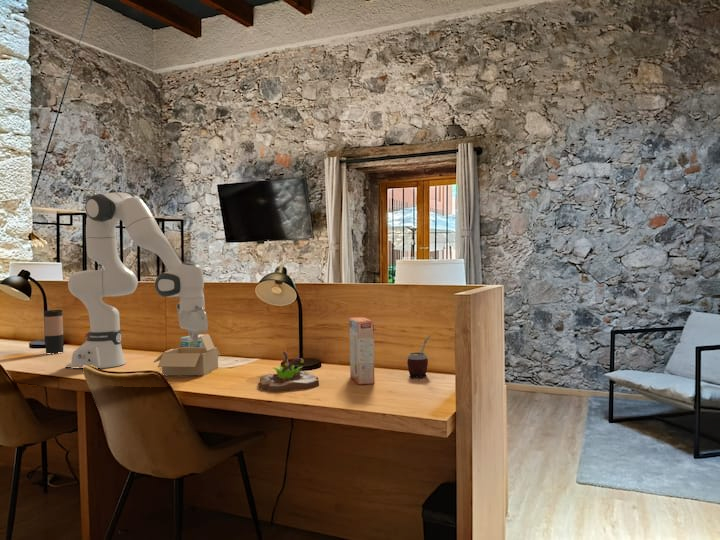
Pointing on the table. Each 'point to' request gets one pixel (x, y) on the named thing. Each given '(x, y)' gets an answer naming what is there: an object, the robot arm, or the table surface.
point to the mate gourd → (418, 363)
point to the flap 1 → (179, 360)
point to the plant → (288, 378)
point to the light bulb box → (186, 342)
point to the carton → (203, 365)
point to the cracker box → (362, 350)
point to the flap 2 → (207, 342)
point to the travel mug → (53, 331)
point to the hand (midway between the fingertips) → (193, 342)
